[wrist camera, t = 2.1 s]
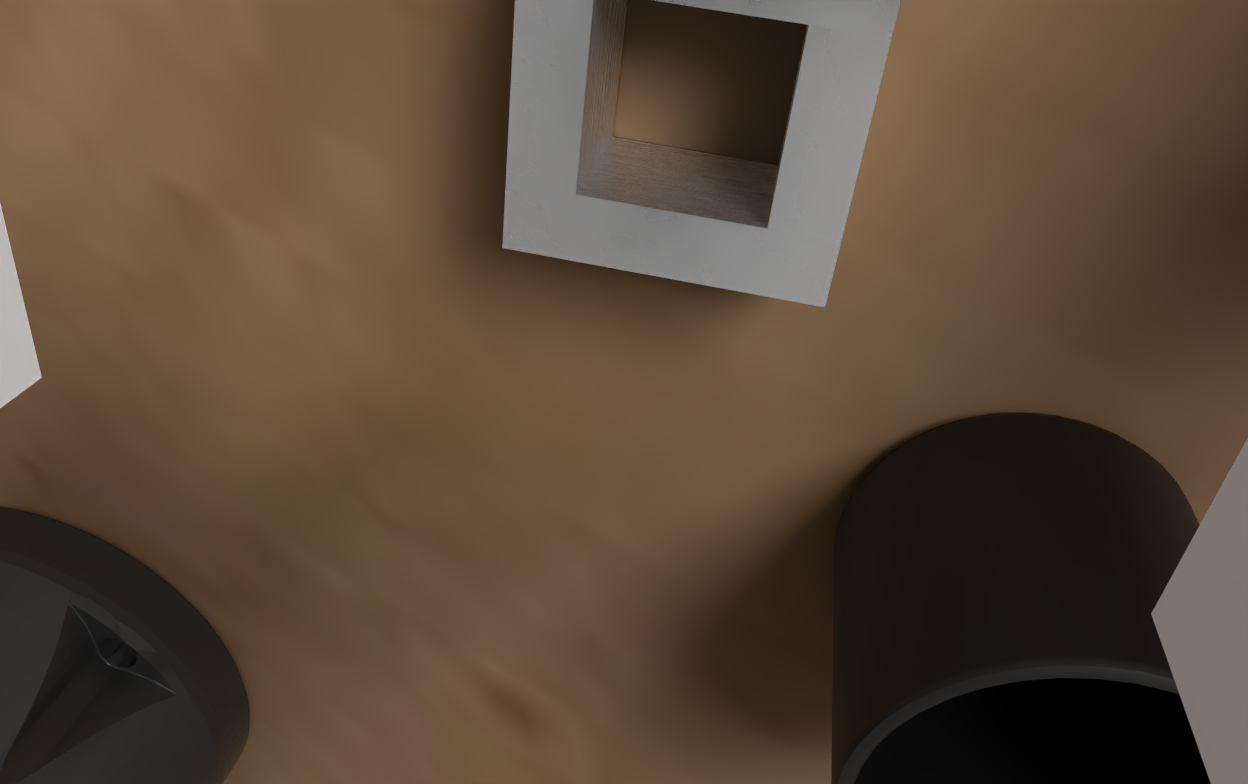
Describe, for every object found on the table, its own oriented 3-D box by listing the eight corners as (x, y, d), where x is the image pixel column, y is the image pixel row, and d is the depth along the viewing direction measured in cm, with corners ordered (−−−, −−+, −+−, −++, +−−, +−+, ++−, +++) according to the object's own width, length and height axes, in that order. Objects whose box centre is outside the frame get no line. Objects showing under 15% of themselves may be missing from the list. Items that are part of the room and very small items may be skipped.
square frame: (548, 185, 25) (502, 248, 22) (571, -128, 21) (520, -110, 18) (827, 234, 24) (825, 307, 21) (902, -79, 21) (913, -52, 17)
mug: (741, 644, 32) (710, 914, 24) (945, 348, 25) (989, 591, 18) (1007, 759, 32) (1058, 1060, 25) (1274, 498, 26) (1454, 797, 18)
